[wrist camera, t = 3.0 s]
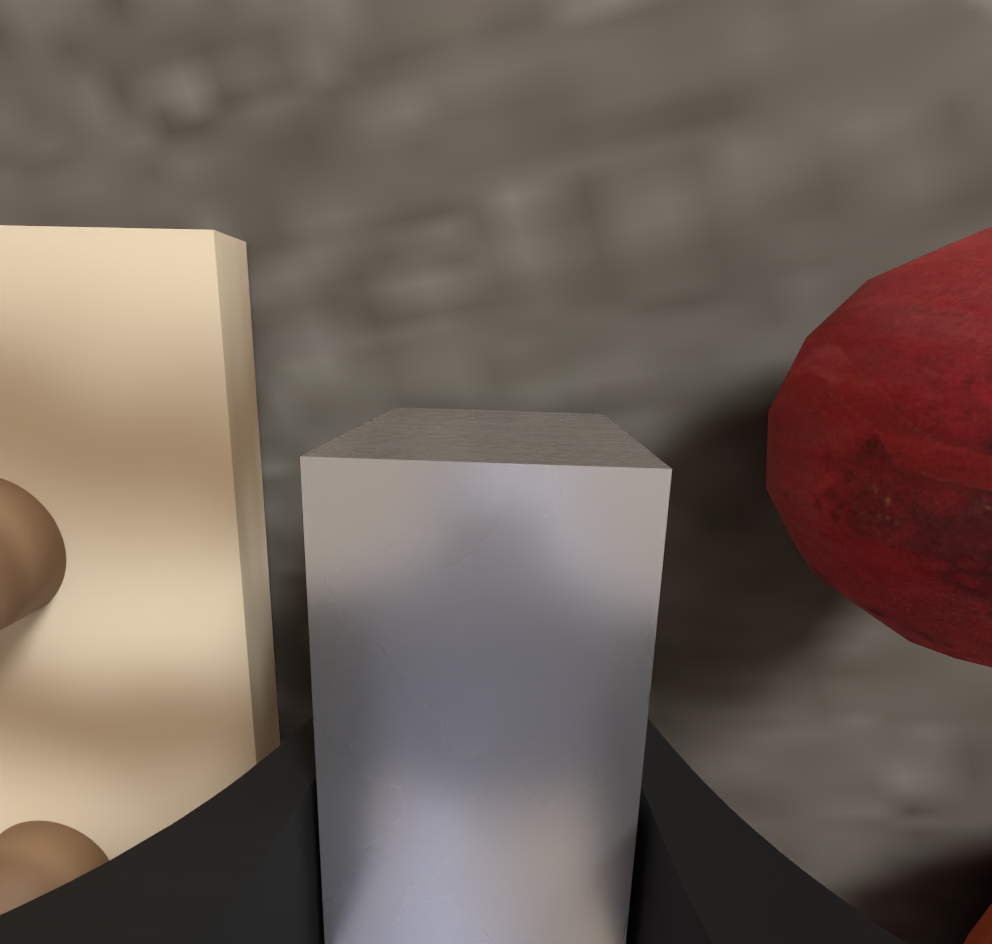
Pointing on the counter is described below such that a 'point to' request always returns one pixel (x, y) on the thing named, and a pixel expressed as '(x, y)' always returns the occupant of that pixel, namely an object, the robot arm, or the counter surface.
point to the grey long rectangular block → (481, 672)
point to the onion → (898, 449)
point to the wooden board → (125, 543)
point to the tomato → (982, 930)
